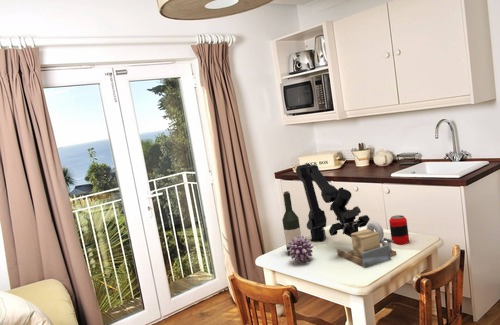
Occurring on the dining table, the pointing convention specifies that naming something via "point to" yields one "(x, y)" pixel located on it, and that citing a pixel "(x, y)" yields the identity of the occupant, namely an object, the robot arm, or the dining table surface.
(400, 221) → the soda can
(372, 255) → the bay
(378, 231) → the donut
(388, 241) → the post
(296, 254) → the purple spiky ball
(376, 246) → the tall wooden block
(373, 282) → the dining table surface
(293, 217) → the wine bottle
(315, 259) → the dining table surface
